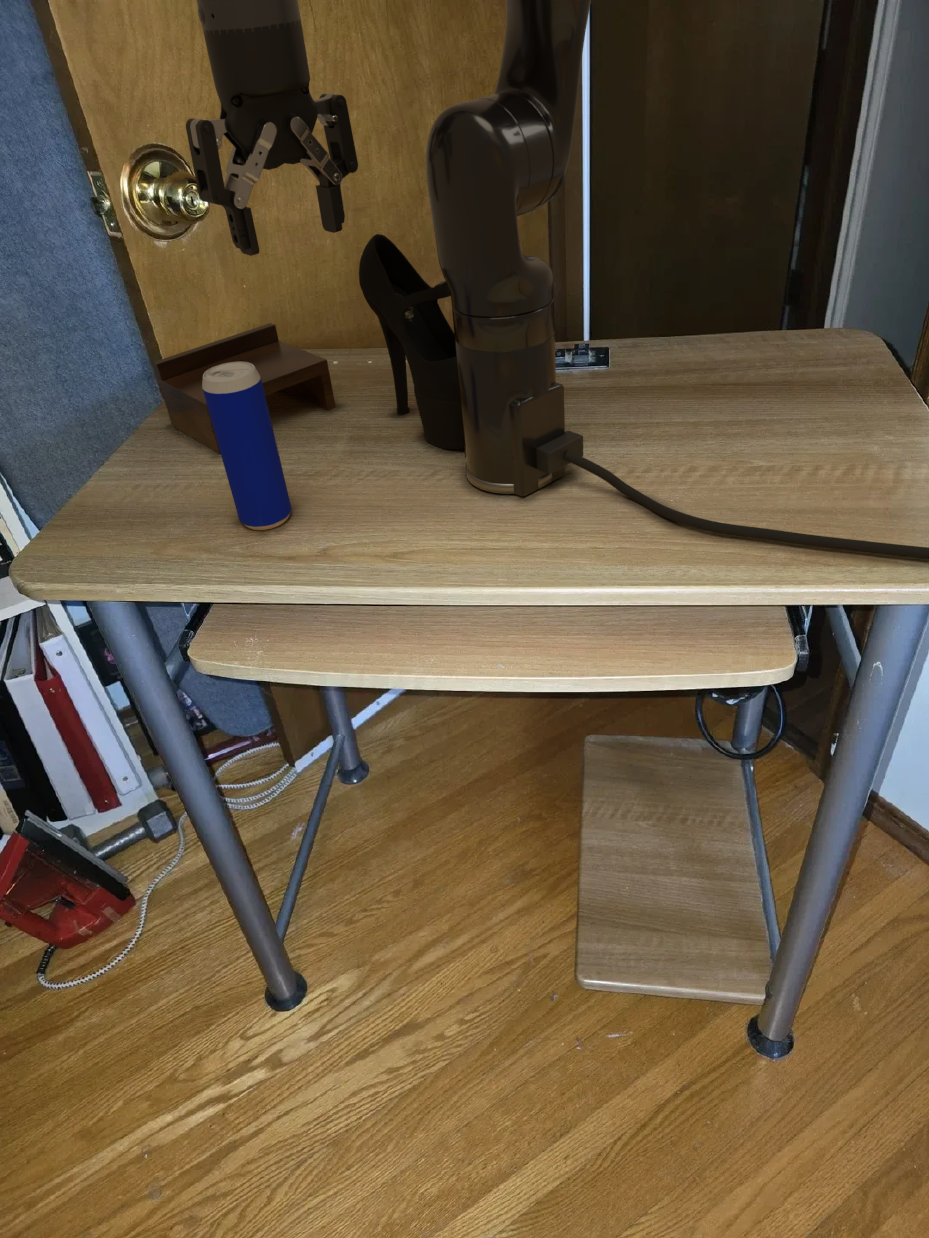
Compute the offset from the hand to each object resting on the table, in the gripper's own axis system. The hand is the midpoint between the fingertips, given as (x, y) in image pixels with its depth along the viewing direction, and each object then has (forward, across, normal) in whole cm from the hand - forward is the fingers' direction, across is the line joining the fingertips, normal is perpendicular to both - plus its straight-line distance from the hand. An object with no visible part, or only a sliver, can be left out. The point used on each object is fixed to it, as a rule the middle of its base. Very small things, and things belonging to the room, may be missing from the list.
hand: (293, 242), depth 77 cm
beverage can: (+24, -9, -1) cm, 26 cm away
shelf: (+24, +3, +22) cm, 33 cm away
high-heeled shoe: (+24, +15, +1) cm, 28 cm away
